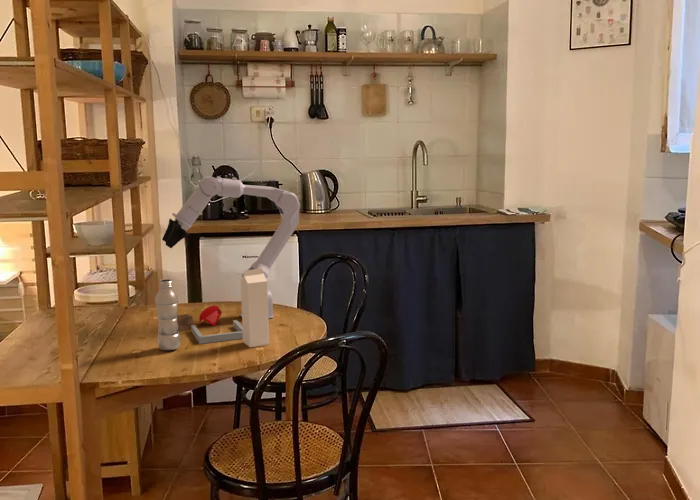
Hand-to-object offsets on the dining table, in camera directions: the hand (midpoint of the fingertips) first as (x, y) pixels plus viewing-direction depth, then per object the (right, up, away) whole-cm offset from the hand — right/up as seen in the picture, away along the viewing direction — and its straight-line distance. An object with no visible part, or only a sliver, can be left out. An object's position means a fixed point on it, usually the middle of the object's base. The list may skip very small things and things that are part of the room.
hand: (166, 243), depth 216 cm
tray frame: (+18, -28, -6) cm, 33 cm away
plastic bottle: (+6, -30, -20) cm, 37 cm away
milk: (+30, -29, -16) cm, 45 cm away
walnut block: (+5, -27, +1) cm, 27 cm away
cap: (+13, -26, +5) cm, 29 cm away
